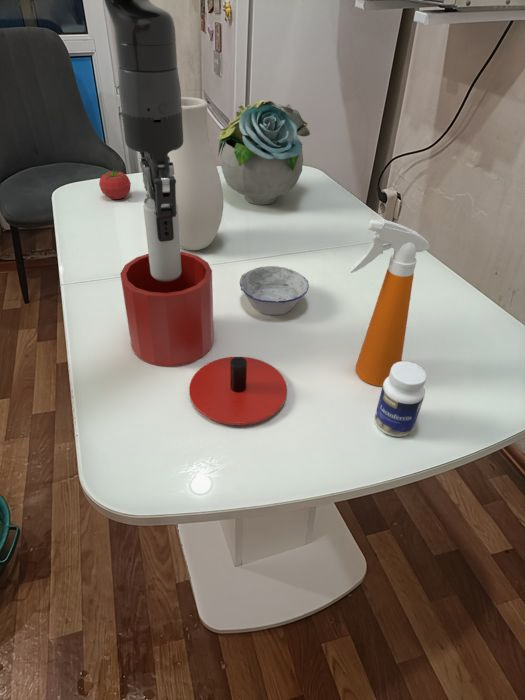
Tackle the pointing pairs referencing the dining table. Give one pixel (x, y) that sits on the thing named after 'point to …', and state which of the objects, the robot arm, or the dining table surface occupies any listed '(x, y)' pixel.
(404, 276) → the spray bottle
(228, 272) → the dining table surface
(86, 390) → the dining table surface
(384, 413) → the pill bottle
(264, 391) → the lid
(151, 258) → the beverage can
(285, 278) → the bowl
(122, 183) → the tomato
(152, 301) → the pot
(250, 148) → the flower arrangement
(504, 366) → the dining table surface
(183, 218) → the vase
